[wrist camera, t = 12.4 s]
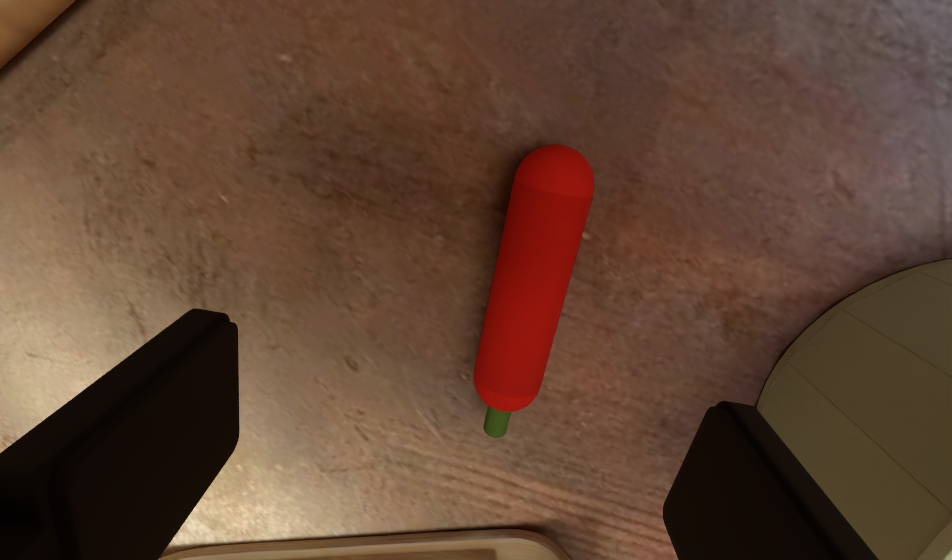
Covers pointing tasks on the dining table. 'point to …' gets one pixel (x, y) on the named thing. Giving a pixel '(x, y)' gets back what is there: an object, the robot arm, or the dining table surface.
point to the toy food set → (394, 548)
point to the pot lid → (939, 546)
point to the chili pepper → (531, 279)
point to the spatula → (25, 23)
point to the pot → (876, 408)
